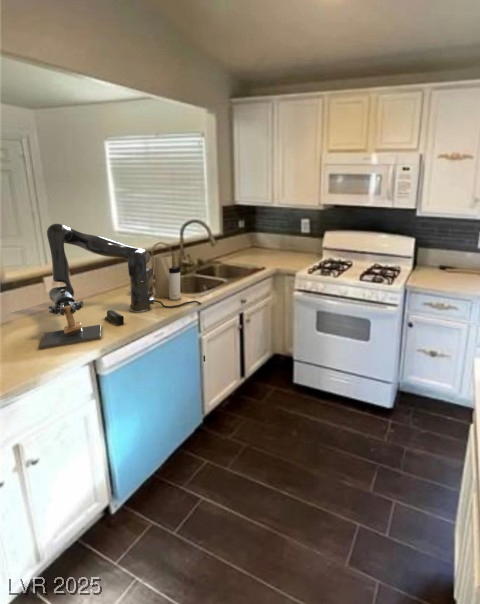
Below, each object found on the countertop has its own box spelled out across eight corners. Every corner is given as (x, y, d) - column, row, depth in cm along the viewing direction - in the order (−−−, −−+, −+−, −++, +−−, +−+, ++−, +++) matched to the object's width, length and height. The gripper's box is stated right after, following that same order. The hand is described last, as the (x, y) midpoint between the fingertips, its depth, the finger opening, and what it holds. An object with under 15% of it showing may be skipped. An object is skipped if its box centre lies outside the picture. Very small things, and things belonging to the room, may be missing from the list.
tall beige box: (151, 296, 217) (150, 256, 213) (162, 291, 226) (161, 253, 223) (166, 298, 214) (165, 258, 211) (175, 293, 224) (175, 254, 221)
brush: (82, 328, 164) (75, 302, 161) (82, 332, 160) (74, 305, 157) (66, 333, 161) (58, 307, 158) (66, 337, 157) (57, 310, 154)
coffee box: (148, 297, 215) (147, 271, 213) (137, 297, 215) (136, 271, 213) (153, 292, 224) (152, 267, 222) (143, 292, 224) (142, 267, 222)
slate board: (100, 327, 172) (100, 324, 171) (100, 339, 160) (100, 335, 159) (44, 336, 161) (44, 332, 161) (40, 349, 149) (39, 345, 149)
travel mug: (177, 301, 210) (176, 268, 208) (167, 300, 212) (166, 267, 209) (183, 297, 216) (182, 265, 214) (173, 296, 218) (172, 265, 215)
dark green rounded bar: (124, 315, 175) (109, 307, 184) (118, 317, 173) (103, 309, 181) (125, 324, 176) (109, 316, 184) (119, 326, 174) (103, 318, 182)
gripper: (46, 297, 164) (48, 307, 151) (81, 291, 173) (86, 301, 159) (47, 312, 165) (49, 324, 152) (82, 306, 174) (87, 317, 160)
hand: (68, 312), depth 156 cm, fingers closed on brush, 3 cm apart
